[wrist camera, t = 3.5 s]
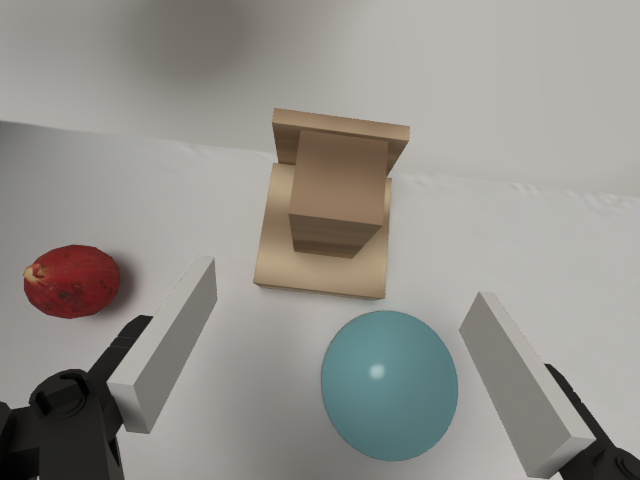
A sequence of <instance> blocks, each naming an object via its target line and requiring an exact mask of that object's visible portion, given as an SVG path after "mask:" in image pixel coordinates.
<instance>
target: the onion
mask: <svg viewBox="0 0 640 480" xmlns="http://www.w3.org/2000/svg"><path fill="white" fill-rule="evenodd" d="M23 276H24V277H25V278H24V291H25V293H26V295H27V297H28V299H29V301H30V303H31V304H32V305H33V306H35V307H36V308H38V309H39V310H40V311H42V312H43V313H45V314H47V315H51V316H55V317H60V318H67V319H72V318H78V317H83V316H89V315H94V314H95V313H97V312H99V311H100V310H102V309H103V308H105V307H106V306H108V305H109V304H110V303H111V301H112V300H113V298H114V297H115V296H116V294H117V293H118V289H119V284H120V275H119V269H118V266H117V265H116V263H115V262H114V260H113V258H112V257H110V256H109V255H107V254H106V253H104V252H102V251H101V250H99V249H97V248H96V247H91V246H83V245H69V246H65V247H61V248H57V249H53V250H51V251H49V252H47V253H46V254H44V255H42V256H41V257H39V258H38V259H37V260H36V261H35V262H34V263H33V264H32V265H30V266H28V267H27V268H26V269H25V272H24V274H23Z"/></svg>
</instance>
